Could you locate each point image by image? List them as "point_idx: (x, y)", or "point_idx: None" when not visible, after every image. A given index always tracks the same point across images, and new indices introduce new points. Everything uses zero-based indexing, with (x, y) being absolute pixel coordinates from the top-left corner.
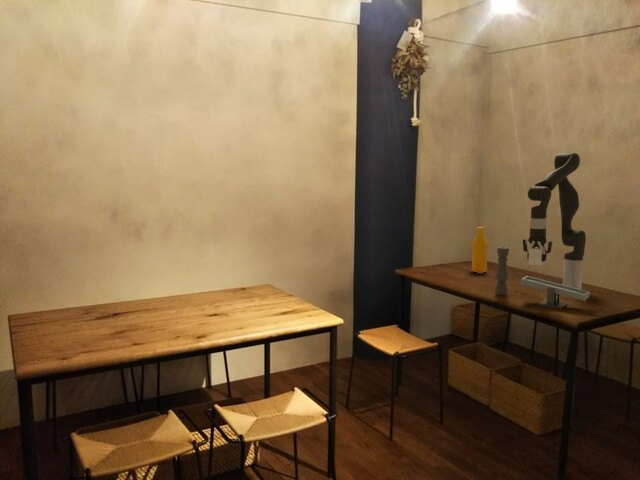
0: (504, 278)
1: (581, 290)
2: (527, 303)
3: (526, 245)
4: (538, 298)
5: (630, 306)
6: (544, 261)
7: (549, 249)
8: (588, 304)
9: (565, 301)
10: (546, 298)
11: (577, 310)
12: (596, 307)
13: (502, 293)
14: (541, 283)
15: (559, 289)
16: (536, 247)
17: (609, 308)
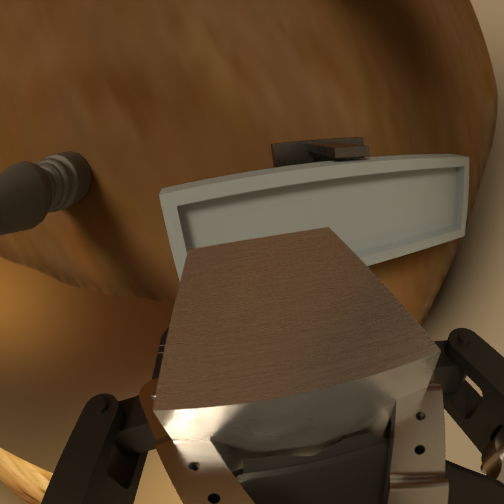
0: (47, 212)
1: (449, 166)
2: None
3: (109, 483)
4: (226, 125)
5: (486, 64)
6: (337, 240)
7: (472, 407)
8: (414, 99)
9: (358, 144)
10: (275, 144)
11: None
12: (441, 128)
13: (81, 198)
14: (281, 213)
15: (389, 257)
16: (274, 435)
17: (465, 119)
